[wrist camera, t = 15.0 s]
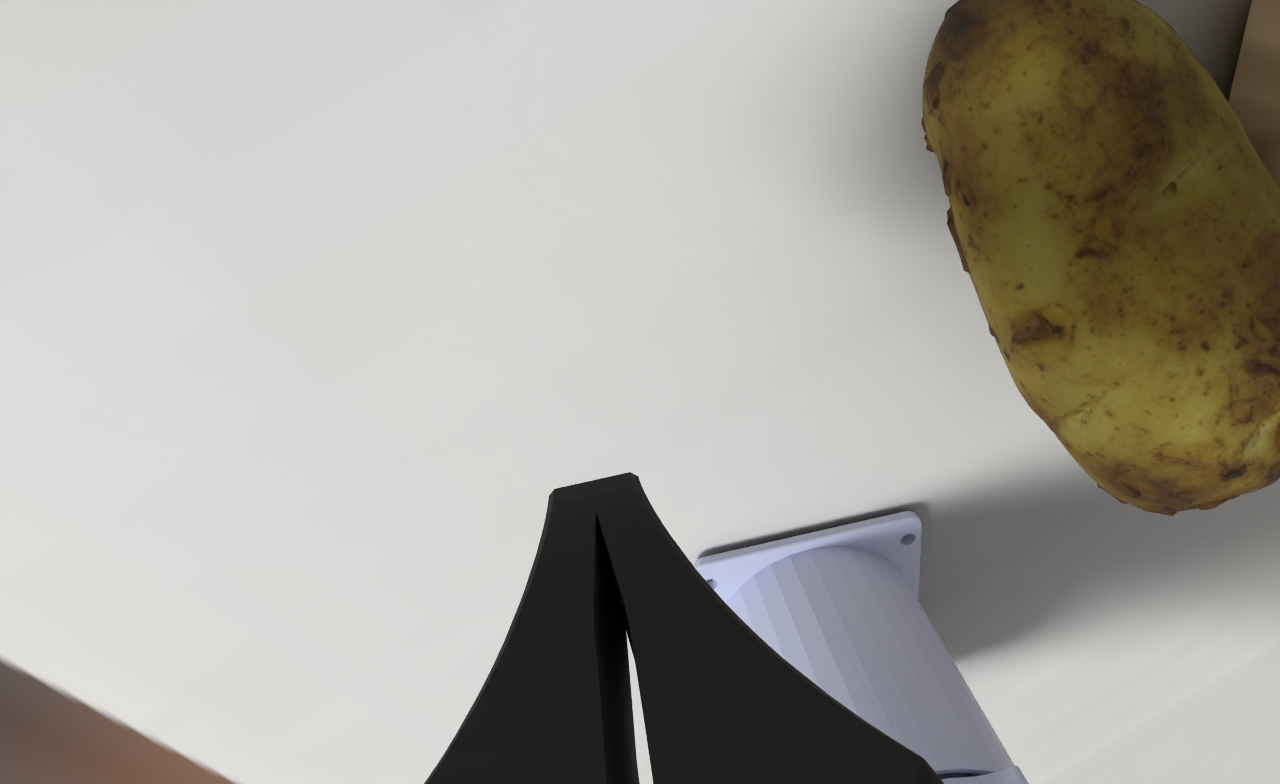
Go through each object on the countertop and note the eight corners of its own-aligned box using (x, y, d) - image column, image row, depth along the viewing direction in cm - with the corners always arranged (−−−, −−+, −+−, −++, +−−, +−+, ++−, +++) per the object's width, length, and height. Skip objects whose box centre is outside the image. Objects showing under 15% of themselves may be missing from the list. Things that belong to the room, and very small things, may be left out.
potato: (1217, -117, 18) (1627, -116, 12) (1160, 346, 26) (1396, 511, 19) (869, -7, 19) (1079, 55, 12) (909, 423, 26) (1054, 614, 19)
